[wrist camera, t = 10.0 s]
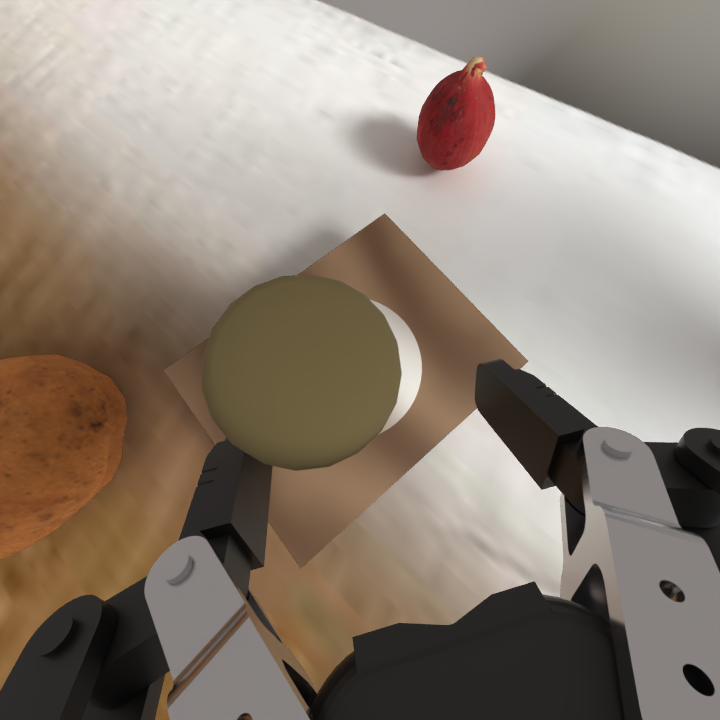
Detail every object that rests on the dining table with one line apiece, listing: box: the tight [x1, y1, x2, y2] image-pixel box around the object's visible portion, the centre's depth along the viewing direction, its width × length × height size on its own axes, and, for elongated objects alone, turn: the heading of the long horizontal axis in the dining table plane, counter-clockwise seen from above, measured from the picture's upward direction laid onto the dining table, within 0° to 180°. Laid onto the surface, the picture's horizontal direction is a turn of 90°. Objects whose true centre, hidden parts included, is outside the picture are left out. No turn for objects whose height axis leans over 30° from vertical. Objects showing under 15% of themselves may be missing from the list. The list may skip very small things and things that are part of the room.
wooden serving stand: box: [163, 214, 528, 568], centre depth 20 cm, size 18×14×5 cm
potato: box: [0, 354, 127, 559], centre depth 17 cm, size 9×11×8 cm
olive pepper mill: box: [202, 274, 402, 471], centre depth 12 cm, size 6×6×11 cm
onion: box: [417, 56, 495, 170], centre depth 23 cm, size 6×6×8 cm
